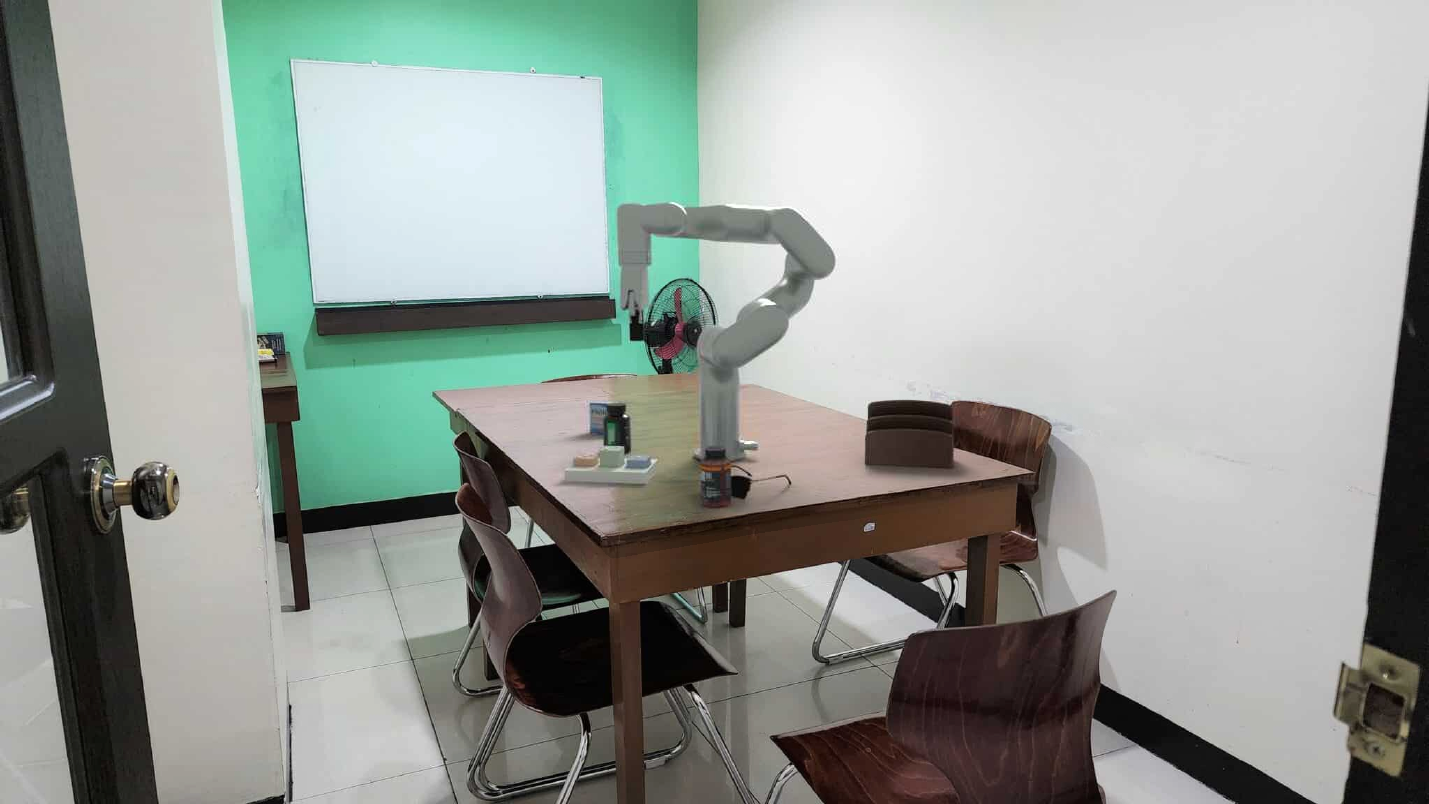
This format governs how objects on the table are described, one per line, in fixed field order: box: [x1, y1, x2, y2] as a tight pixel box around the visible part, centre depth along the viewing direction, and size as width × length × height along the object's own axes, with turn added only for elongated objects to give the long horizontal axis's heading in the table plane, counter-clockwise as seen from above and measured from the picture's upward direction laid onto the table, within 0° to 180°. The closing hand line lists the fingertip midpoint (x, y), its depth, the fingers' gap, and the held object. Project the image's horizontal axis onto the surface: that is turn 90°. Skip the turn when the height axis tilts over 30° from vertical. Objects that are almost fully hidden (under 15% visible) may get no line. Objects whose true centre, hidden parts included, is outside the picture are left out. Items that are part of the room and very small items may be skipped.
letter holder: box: [864, 399, 955, 469], centre depth 201 cm, size 10×20×14 cm, turn 77°
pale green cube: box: [599, 446, 625, 468], centre depth 190 cm, size 4×4×4 cm
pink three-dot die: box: [572, 453, 599, 467], centre depth 192 cm, size 4×4×4 cm
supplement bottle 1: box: [602, 402, 632, 455], centre depth 213 cm, size 7×7×12 cm
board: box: [564, 457, 659, 485], centre depth 191 cm, size 18×12×2 cm, turn 81°
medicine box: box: [589, 400, 623, 435], centre depth 236 cm, size 8×4×9 cm, turn 73°
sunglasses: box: [698, 464, 792, 500], centre depth 181 cm, size 14×16×5 cm
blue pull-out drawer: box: [626, 454, 652, 469], centre depth 190 cm, size 4×4×4 cm
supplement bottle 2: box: [700, 446, 733, 509], centre depth 168 cm, size 6×6×11 cm
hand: (637, 340), depth 198 cm, fingers closed
